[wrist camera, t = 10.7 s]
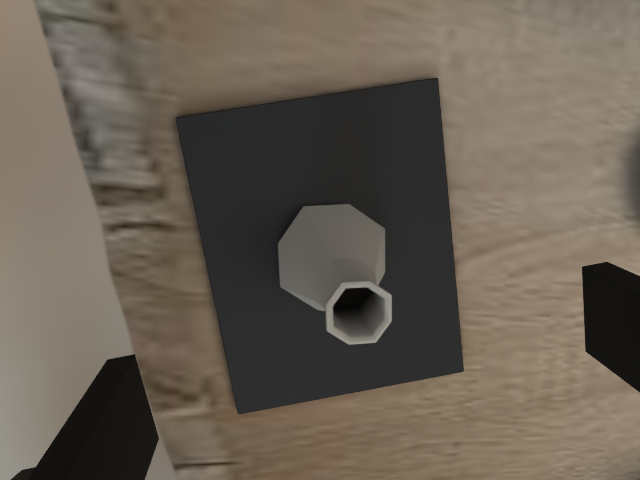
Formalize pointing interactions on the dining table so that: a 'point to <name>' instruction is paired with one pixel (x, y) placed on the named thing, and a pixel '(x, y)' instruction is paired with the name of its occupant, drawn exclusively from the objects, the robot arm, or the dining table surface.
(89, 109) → the dining table surface
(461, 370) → the placemat
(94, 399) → the robot arm
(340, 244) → the flask
